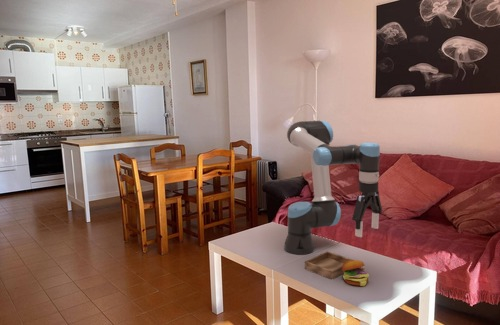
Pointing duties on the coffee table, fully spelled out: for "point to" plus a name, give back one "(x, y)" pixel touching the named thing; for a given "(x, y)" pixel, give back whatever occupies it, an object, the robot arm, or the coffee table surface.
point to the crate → (327, 264)
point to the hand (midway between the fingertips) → (366, 232)
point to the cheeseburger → (355, 273)
